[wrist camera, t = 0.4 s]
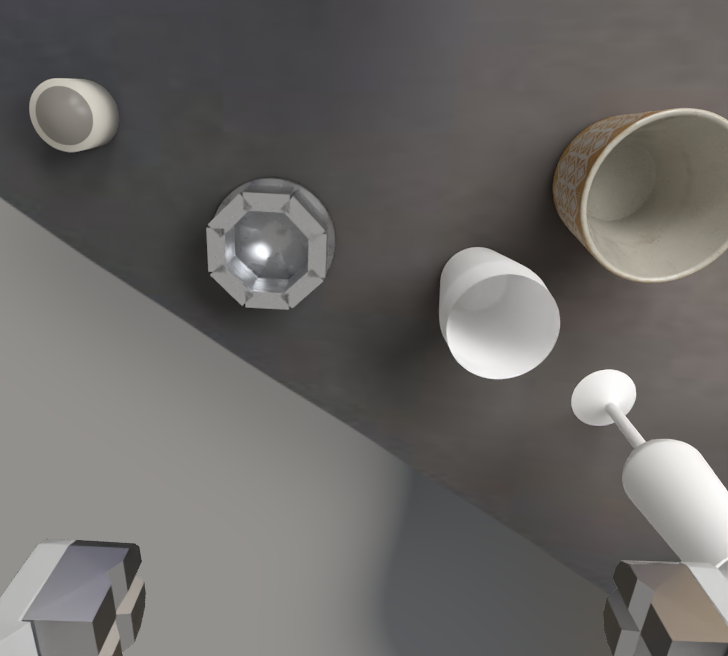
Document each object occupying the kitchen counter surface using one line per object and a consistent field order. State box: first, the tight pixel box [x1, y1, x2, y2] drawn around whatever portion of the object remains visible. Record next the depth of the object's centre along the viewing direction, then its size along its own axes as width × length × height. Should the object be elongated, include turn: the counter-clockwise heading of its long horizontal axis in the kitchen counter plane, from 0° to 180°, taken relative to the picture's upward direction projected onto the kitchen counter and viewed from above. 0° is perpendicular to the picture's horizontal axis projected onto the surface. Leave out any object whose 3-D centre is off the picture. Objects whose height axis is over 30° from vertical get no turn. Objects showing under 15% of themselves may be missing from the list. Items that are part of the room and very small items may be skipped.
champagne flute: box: [571, 370, 728, 582], centre depth 49 cm, size 7×7×24 cm
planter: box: [553, 108, 728, 283], centre depth 47 cm, size 13×13×10 cm
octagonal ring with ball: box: [206, 177, 335, 310], centre depth 52 cm, size 11×11×5 cm
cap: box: [29, 78, 119, 152], centre depth 48 cm, size 6×6×4 cm
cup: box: [439, 247, 560, 379], centre depth 50 cm, size 9×9×12 cm
